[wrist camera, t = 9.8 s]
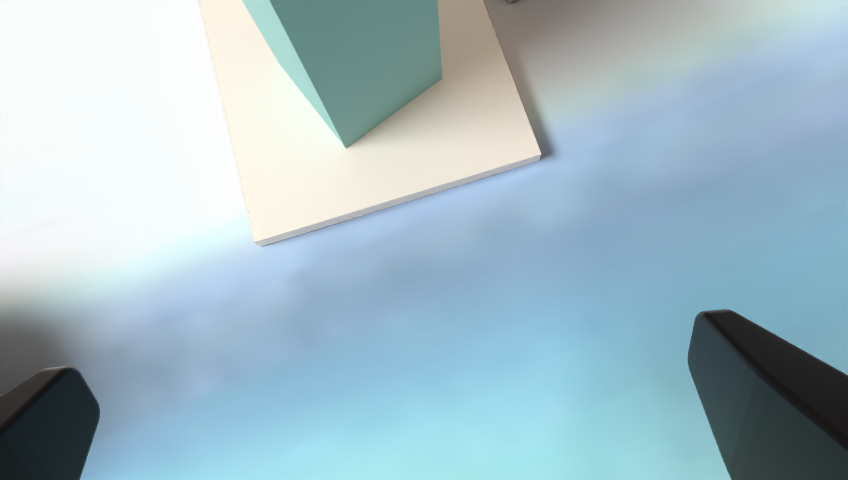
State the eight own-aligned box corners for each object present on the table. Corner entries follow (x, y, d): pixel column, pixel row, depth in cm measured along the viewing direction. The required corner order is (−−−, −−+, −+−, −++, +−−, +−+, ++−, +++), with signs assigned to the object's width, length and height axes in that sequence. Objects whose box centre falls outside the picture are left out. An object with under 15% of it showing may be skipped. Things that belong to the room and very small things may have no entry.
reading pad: (538, 161, 23) (541, 154, 22) (261, 246, 23) (254, 242, 22) (451, -70, 26) (451, -83, 25) (204, 5, 26) (196, -6, 25)
